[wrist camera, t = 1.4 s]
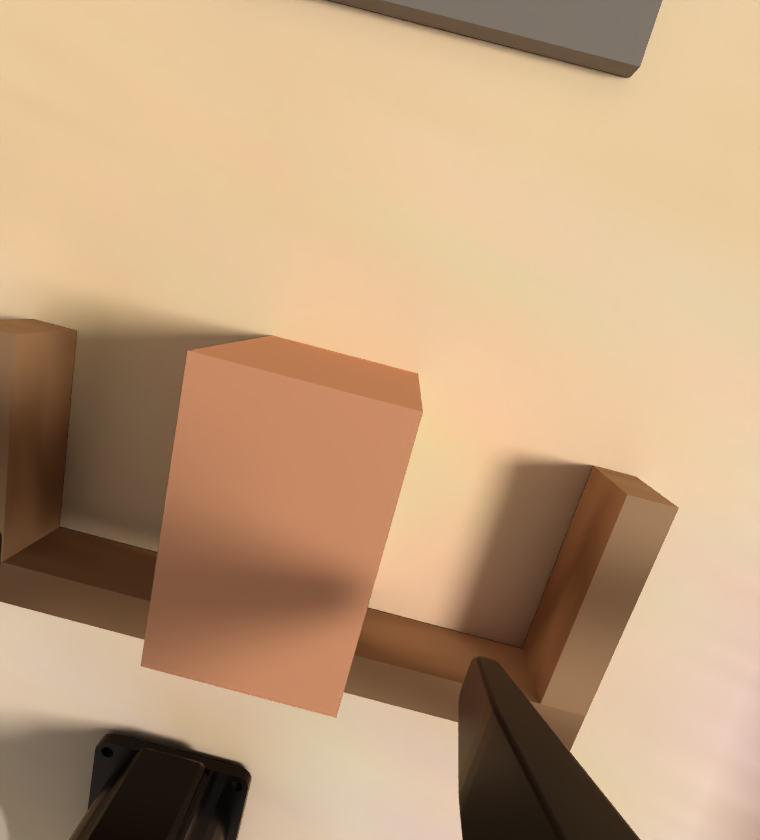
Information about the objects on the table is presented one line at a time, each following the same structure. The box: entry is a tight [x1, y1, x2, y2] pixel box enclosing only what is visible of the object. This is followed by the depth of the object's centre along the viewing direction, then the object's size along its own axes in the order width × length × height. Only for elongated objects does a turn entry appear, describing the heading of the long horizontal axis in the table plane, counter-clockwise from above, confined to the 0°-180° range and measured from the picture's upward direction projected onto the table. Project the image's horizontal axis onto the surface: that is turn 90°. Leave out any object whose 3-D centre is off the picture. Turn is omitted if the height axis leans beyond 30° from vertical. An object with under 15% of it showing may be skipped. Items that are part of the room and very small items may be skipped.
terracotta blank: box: [141, 335, 423, 717], centre depth 13 cm, size 8×5×6 cm, turn 166°
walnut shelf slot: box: [0, 319, 679, 751], centre depth 15 cm, size 9×21×2 cm, turn 76°
